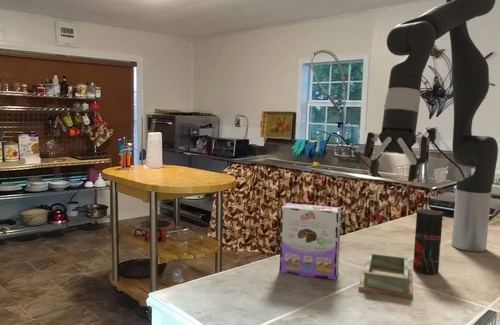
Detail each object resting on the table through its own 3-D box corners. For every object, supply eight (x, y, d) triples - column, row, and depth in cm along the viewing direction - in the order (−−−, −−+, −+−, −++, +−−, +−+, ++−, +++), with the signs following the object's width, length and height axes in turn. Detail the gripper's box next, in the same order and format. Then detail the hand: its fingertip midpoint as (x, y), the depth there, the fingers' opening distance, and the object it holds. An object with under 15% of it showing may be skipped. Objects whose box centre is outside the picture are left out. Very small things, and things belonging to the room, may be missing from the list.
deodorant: (440, 275, 104) (445, 215, 103) (415, 273, 106) (419, 214, 104) (435, 267, 110) (439, 210, 108) (411, 265, 111) (415, 208, 110)
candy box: (338, 272, 105) (342, 206, 103) (335, 281, 100) (338, 211, 98) (284, 264, 110) (286, 201, 108) (278, 272, 104) (280, 206, 102)
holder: (364, 266, 109) (365, 251, 109) (410, 273, 106) (411, 257, 105) (358, 290, 94) (359, 273, 94) (411, 299, 91) (413, 280, 90)
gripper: (437, 113, 98) (428, 183, 99) (377, 111, 107) (368, 175, 107) (429, 108, 92) (419, 183, 93) (365, 106, 101) (356, 174, 101)
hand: (392, 179), depth 100 cm, fingers open, 8 cm apart
